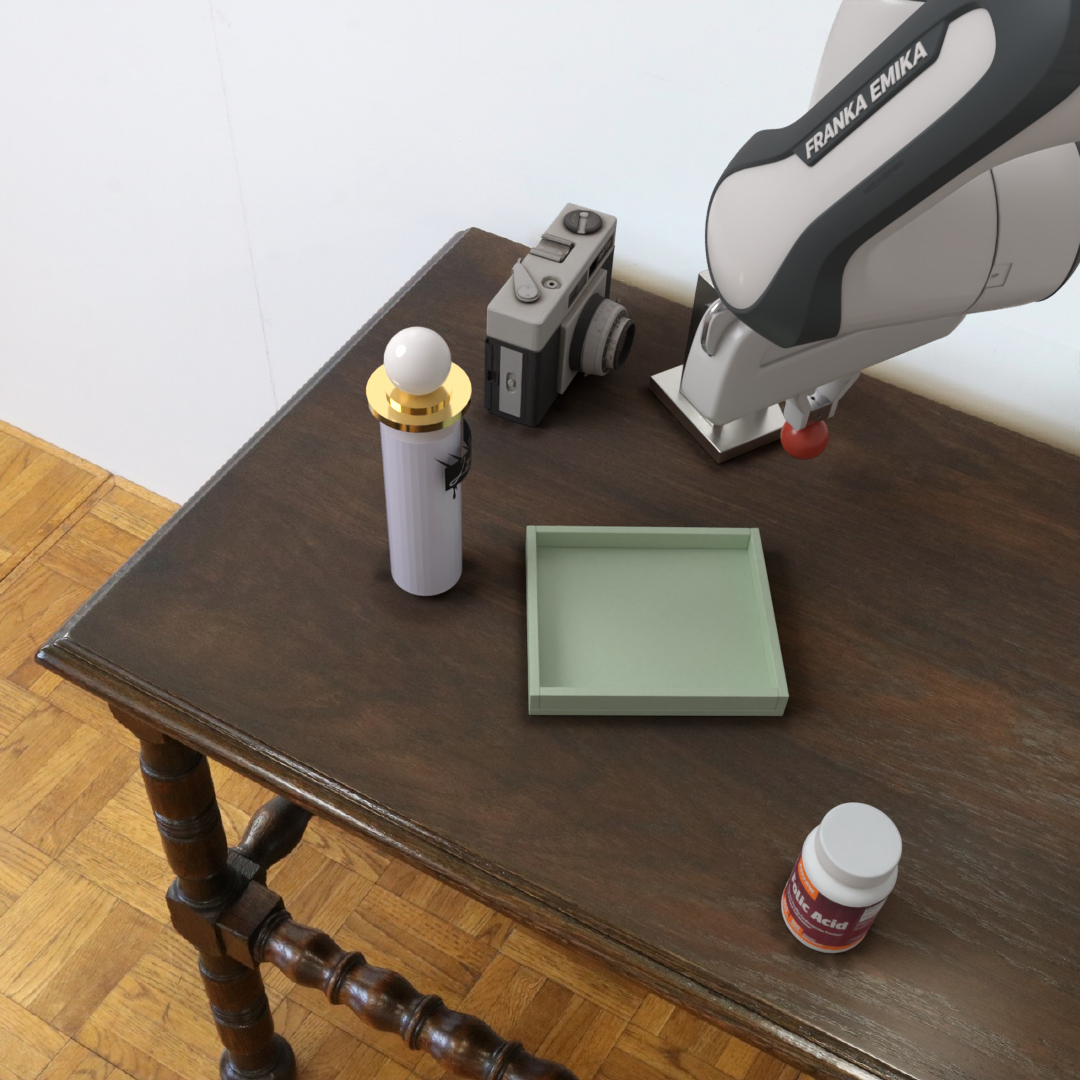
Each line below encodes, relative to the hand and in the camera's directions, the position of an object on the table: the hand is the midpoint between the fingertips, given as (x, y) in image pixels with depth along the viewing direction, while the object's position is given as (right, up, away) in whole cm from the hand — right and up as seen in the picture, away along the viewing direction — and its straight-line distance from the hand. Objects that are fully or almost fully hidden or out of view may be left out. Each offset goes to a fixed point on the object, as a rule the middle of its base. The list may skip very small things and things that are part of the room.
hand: (807, 418), depth 83 cm
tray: (-11, -14, -4) cm, 18 cm away
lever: (-2, +3, +3) cm, 5 cm away
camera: (-15, +4, +12) cm, 20 cm away
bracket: (-4, +1, +9) cm, 10 cm away
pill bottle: (-3, -28, -16) cm, 32 cm away
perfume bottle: (-25, -11, -2) cm, 27 cm away
